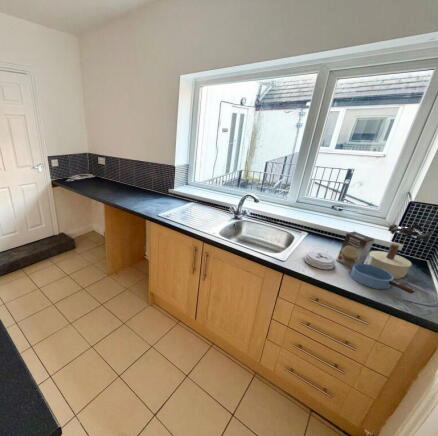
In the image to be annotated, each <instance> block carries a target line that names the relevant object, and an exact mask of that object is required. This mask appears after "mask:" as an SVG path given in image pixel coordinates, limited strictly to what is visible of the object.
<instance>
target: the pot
mask: <svg viewBox="0 0 438 436" xmlns="http://www.w3.org/2000/svg"><path fill="white" fill-rule="evenodd" d="M366 264H367V265H372V266H375V267H379V268H381V269H383V270H386V271H387V272H389V273H391V274H392V276H393V277H394V278H393V280H402V279H403V278H404V277H406V276H407V274H408V271H409V269H410V267H396V266H391V265H388V264H385V263H382V262H379V261H377V260H375V259H373V258H372V257H371V256H370V255H369V257H368V260H367V262H366Z"/></svg>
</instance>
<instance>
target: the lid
mask: <svg viewBox="0 0 438 436" xmlns="http://www.w3.org/2000/svg"><path fill="white" fill-rule="evenodd" d="M304 261H305V262H306V263H307V264H308V265H310V266H312V267H314V268H317V269H322V270H333V269H334V268H335V265H336V263H337V261H336V259H335V258H334V257H333V256H332V255H330V254H328V253H326V252H323V251H319V250H309V251H306V253H305V256H304Z"/></svg>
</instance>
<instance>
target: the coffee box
mask: <svg viewBox="0 0 438 436" xmlns="http://www.w3.org/2000/svg"><path fill="white" fill-rule="evenodd" d="M374 242H375V239H374V238H373V237H370V236H367V235H365V234H362V233H360V232H357V231H350V232H347V233H346V234H345V236H344V240H343V241H342V245H341V247H340V250H339V252H338V255H337V258H336V259H335V261H336V262H338V263H341V264H343V265H344V266H347V267H348V268H350V269H352V268H353V266H354V265H355V264H365V262H366V260H367V257H368V255H369V253H370V252H371V249H372V246H373V244H374Z"/></svg>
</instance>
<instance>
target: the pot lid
mask: <svg viewBox="0 0 438 436" xmlns="http://www.w3.org/2000/svg"><path fill="white" fill-rule="evenodd" d="M399 248H400V245H399V244H397V243H391V244H390V245H389V248H388V251H382V250H370V251H369V253H368V255H369V257H370V256H371V257H372V258H373V259H375V260H377V261H379V262H382V263H385V264H388V265H391V266H396V267H409V268H410V267H412V265H413V264H412V262H411V261H410V260H409V259H407V258H405V257H404V256H401V255H398V254H397V253H398V250H399Z"/></svg>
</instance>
